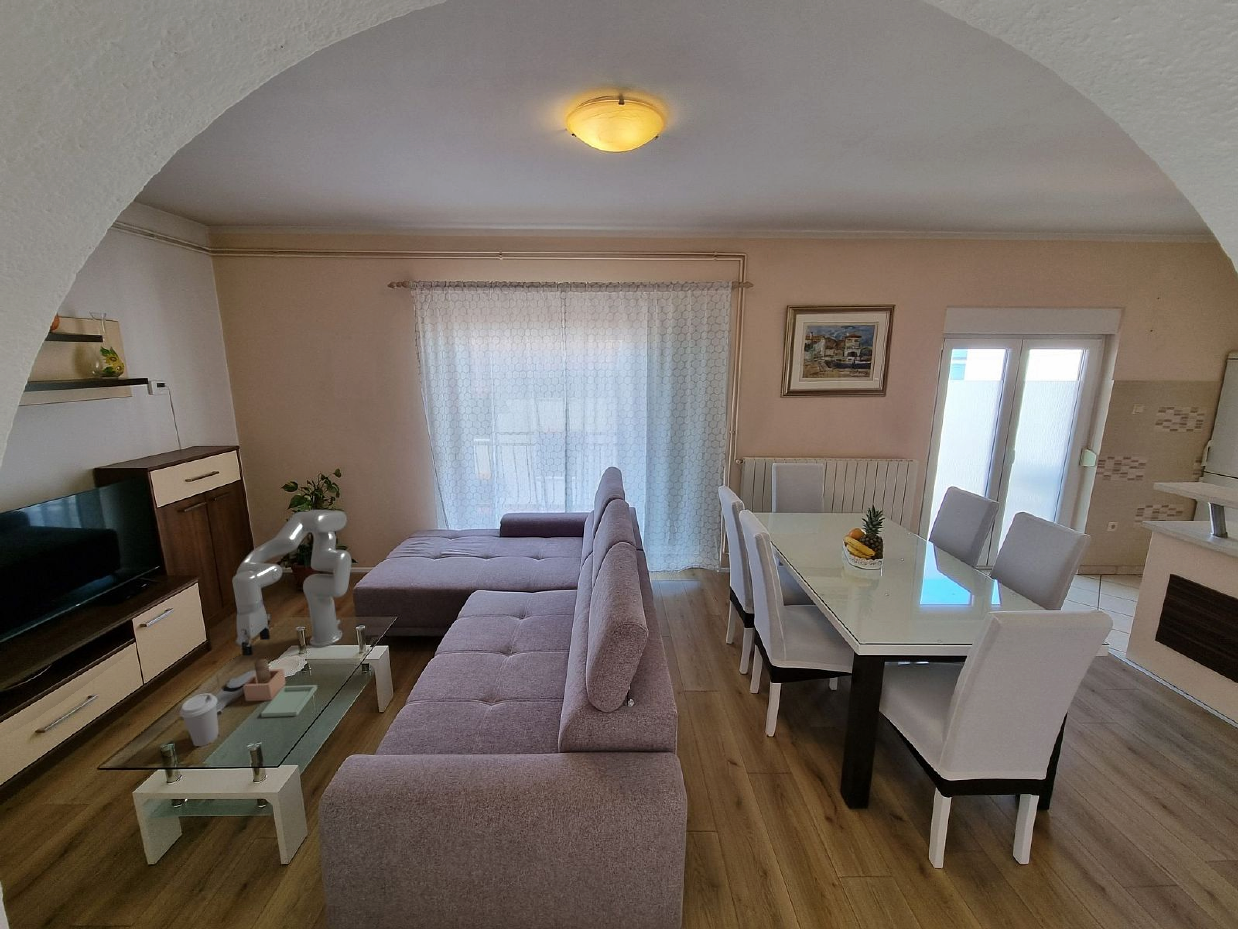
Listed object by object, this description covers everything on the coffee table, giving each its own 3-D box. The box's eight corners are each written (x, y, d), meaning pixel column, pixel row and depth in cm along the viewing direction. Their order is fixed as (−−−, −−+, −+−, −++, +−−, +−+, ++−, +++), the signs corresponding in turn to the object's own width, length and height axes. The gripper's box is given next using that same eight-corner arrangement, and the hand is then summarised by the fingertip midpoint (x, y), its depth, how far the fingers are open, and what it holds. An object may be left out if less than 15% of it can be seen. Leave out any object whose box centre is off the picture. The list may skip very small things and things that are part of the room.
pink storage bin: (261, 686, 188) (258, 669, 186) (286, 685, 188) (283, 669, 187) (246, 703, 179) (243, 686, 177) (272, 702, 180) (268, 685, 178)
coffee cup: (203, 753, 157) (194, 714, 154) (179, 747, 159) (170, 709, 156) (231, 730, 167) (223, 694, 163) (209, 725, 168) (200, 689, 165)
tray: (284, 691, 185) (283, 686, 185) (317, 690, 186) (316, 685, 186) (261, 719, 172) (260, 713, 171) (297, 718, 173) (296, 712, 172)
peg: (264, 688, 185) (258, 659, 182) (275, 688, 186) (269, 658, 182) (257, 695, 181) (251, 666, 178) (268, 695, 182) (263, 665, 179)
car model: (186, 721, 171) (183, 709, 169) (246, 675, 194) (244, 665, 193) (213, 725, 169) (211, 713, 168) (271, 678, 193) (269, 668, 191)
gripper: (254, 593, 182) (261, 633, 186) (222, 618, 165) (229, 662, 169) (275, 593, 183) (281, 633, 187) (245, 618, 166) (252, 661, 170)
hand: (257, 647), depth 178 cm, fingers open, 9 cm apart
